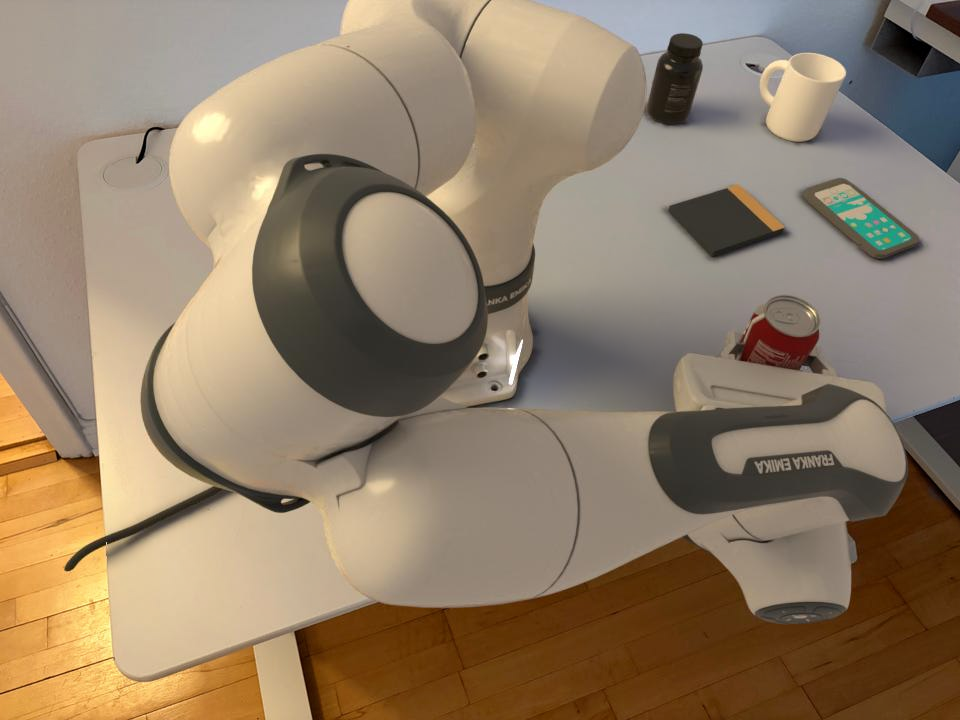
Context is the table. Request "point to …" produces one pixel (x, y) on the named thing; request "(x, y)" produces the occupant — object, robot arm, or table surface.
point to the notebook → (725, 220)
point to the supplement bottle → (676, 80)
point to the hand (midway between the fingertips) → (771, 342)
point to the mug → (801, 94)
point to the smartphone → (861, 218)
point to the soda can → (781, 333)
